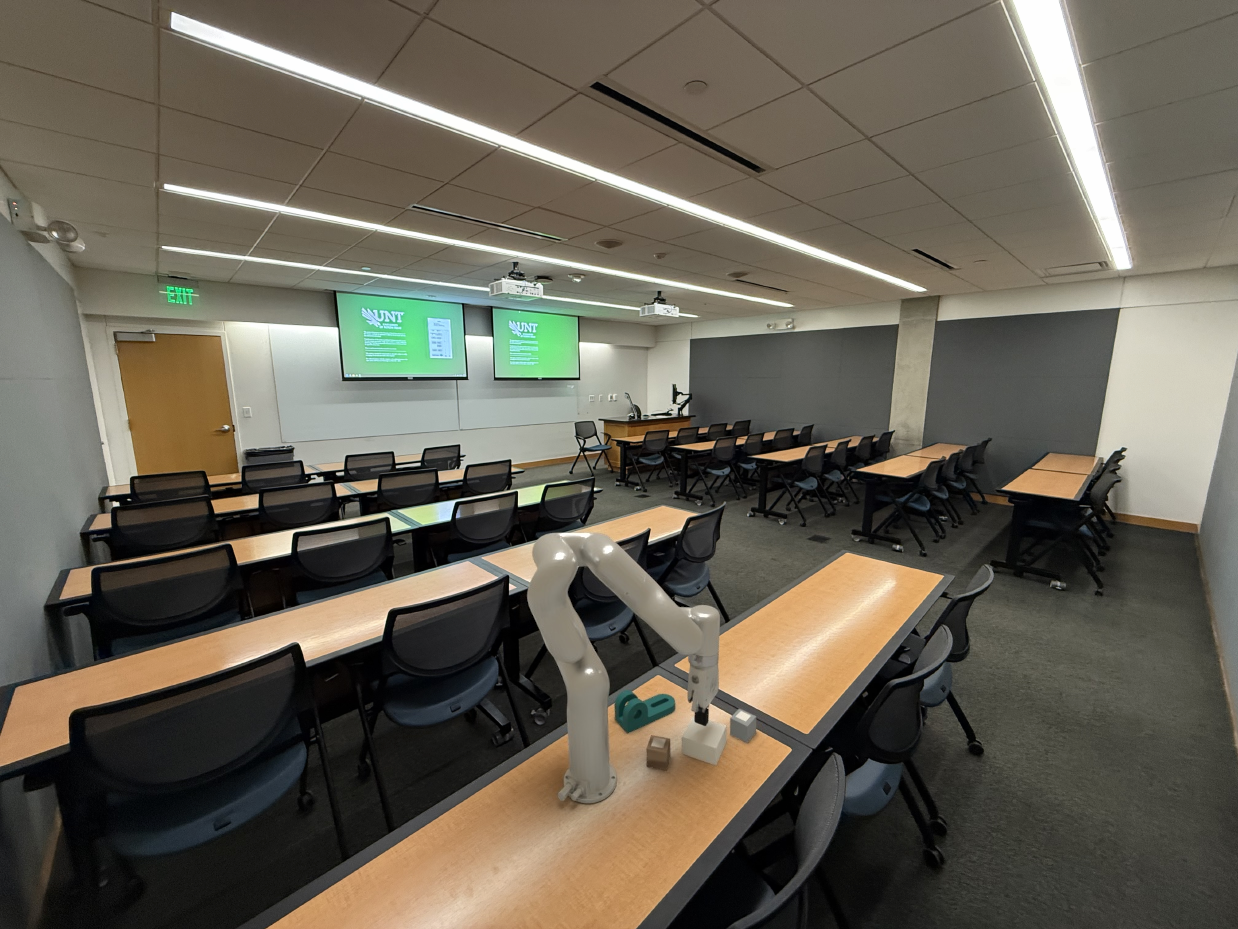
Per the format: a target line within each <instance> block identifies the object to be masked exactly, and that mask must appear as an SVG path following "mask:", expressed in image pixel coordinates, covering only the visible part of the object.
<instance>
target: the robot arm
mask: <svg viewBox="0 0 1238 929" xmlns="http://www.w3.org/2000/svg"><path fill="white" fill-rule="evenodd" d="M531 554H532V560H533V562H534V564H535V566H536V571H535V572H534V574H533V576H532V577H531V579H530V582H529V585H528V589H527V592H526V593H527V594H526V597H527V598H526V599H527V602H528V607H529V609H530V612H531V614H532V615H533V618H534V620H535V622H536V625H537V627H538V629H539V631H540V634H541V637H542V639H543V642H544V644H545V647H546V649H547V650H548V652H549V653H550V654H551V656H552V657H553V658H554V660H555V663H556V665H557V666H558V669H559V672H560V674H561V676H562V680H563V682H564V685H565V689H566V693H567V694H566V695H567V702H566V703H567V704H566V722H567V723H566V726H567V742H568V745H567V746H568V760H569V762H568V764H569V767H568V768H567V770H566V771H565V773H564V775H563V776H564V777H563V788H561V790H560V791H559V792H558V793H557V797H558V799H559V800H560V801H561V802H564V801H565V800H566V799H567V798H568V797H569V798H571V800H572V801H574V802H575V801H576V802H577V803H580V804H581V803H582V804H594V803H599V802H600V801H604V800H605V799H607V798H608V797H609V796H610V795H611V794H612V793H613V792H614V790H615V789H616V786H617V782H618V781H617V780H618V778H617V772H616V769H615V767H614V766H613V765H612V764H611V763H610V734H609V732H610V730H609V712H608V711H609V709H608V708H609V694H610V689H611V688H610V685H611V684H610V678H609V675H608V672H607V669H606V668H605V665H604V664H603V662H602V660H601V659H600V657H599V655H598V654H597V652H596V651H595V650H596V649H594V646H593V645H592V643H591V641H590V639H589V637H588V634H587V631H586V628H585V626H584V623H583V622H582V619H581V618H580V616H579V614H578V613H577V612H576V610H575V608H574V607H573V604H572V602H571V599H570V597H569V593H568V591H569V588H570V585H571V584H572V582H573V580H574V578H575V577H576V574H577V571H578V567H579V568H580V567H588V568H589V570H590V571H591V572H592V574H594V576H595V577H596V578H597V579H598V580H599V581H601V582H602V584H603V585H605V586H606V587H607V588H608V589H609V590H610V591H611V592H613V593H614V594H615V595H616V596H617V597H618V599H620V600H621V601H622V602H623V603H624V604H625V605H626V606H627V607H628V608H629V609H630V610H631V611H632V613H634V614H635V615H637V616H638V617H639V618H640V619H642V621H644V622H645V623H646V624H648V626H649V627H651V628H652V629H653V631H655V633H657V634H658V635H659V636H660V637H661V638H662V640H664V641H665V642H666V643H667V644H669V646H670V647H671V648H673V649H674V650H675V651H676V652H677V653H678V654H680V655H682V656H687V662H688V664H689V670H688V680H687V681H688V682H687V701H688V703H689V704H691V709H690V710H691V712H693V713H694V716H695V717H694V721H695V723H698V724H700V725H703V726H706V725H707V724H708V721H709V720H710V717H709V714H710V709H709V708H710V704H711V702H712V701H713V700H714V699H715V697H716V695H717V694H718V692H719V689H720V688H719V686H720V685H719V684H720V682H719V681H720V680H719V679H720V678H719V676H720V675H719V674H720V673H719V671H720V670H719V669H720V668H719V660H720V659H719V658H720V657H719V656H720V655H719V652H720V630H721V628H720V626H721V625H720V624H721V615H720V612H719V610H718V609H717V608H715V607H713V606H711V605H708V604H698V605H695V606H693V607H687V606H686V607H684V606H681V607H680V606H679V605H677V604H676V603H675V601H673V599H671V597H670V596H669V595H668V594H667V593H666V591H664V589H663V588H662V587H661V586H660V585H659V584H658V583H657V581H655V579H653V577H651V576H650V574H648V572H646V571H645V570H644V569H643V568H642V566H640V565H639V564H638V563H637V562H636V560H634V559H633V558H632V557H631V556H630V555H629V554H628V552H626V551H625V549H623V548H622V547H621V546H620V545H619V544H618V543H617V542H615V541H614V539H613V538H611V537H610V536H608V535H607V534H605V533H599V532H552V533H551V532H550V533H546V534H544V535H541V536H540V537H539V538H538V539H537V540H536V541H535V543H534V544H533V547H532V550H531Z"/></svg>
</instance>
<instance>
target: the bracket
mask: <svg viewBox="0 0 1238 929" xmlns="http://www.w3.org/2000/svg"><path fill="white" fill-rule="evenodd" d="M613 708H614V720H615V721H616V722H617V724H618V725H619V726H620V727H621V728H622V729H623V730H624V732H626V734H630V733H633V732H634V731H635V732H636V731H637V730H639V729H641V728H643V727H646V726H647V725H649V724H652V723H655V722H656V721H658V720H660V719H663V718H665V717H668V716H669V715H672V714H673V713H674V712H675V711H676V699H675V698H674V696H672V695H671V694H667V693H659V694H655V695H654V696H651V697H649V698H647V699H643V700H642V699H640V698H639V697H638V695H636V694H635V693H634V692H633V691H632V690H629V689H625V690H623V691H620V693H619V694H618V695H617V696H616V698H615V701H614V707H613Z"/></svg>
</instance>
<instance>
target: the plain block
mask: <svg viewBox="0 0 1238 929" xmlns="http://www.w3.org/2000/svg"><path fill="white" fill-rule="evenodd" d="M694 717H695V715H693V716H692V718H691V719H690V721H689V723H688V724H687V726H686V728H685V730H684V731H683V733H682V735H681V754H682V755H685V756H688V757H691V758H693V759H696V760H699V761H702V762H705V763H708V764H711V765H712V766H717V765H718V762H719V760H720V758H721V756H722V753H723V751H724V748H725V746H726V744H727V741H728V740H727V738H728V736H727V731H728V730H727V725H725V724H723V723H720V722H716V721H713V720H710V719H709V721H708V724H707V725H706V726H703V725H700V724H698V723H695V721H694Z"/></svg>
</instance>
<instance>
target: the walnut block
mask: <svg viewBox="0 0 1238 929" xmlns="http://www.w3.org/2000/svg"><path fill="white" fill-rule="evenodd" d="M671 750H672V749H671V738H670V737H665V736H660V735H655V734H651V735H650V736H649V740H648V743H647V745H646V750H645V751H646V767H647V768H652V769H656V770H661V771H665V772H667V770H668V768H669V764H670V760H671Z"/></svg>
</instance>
